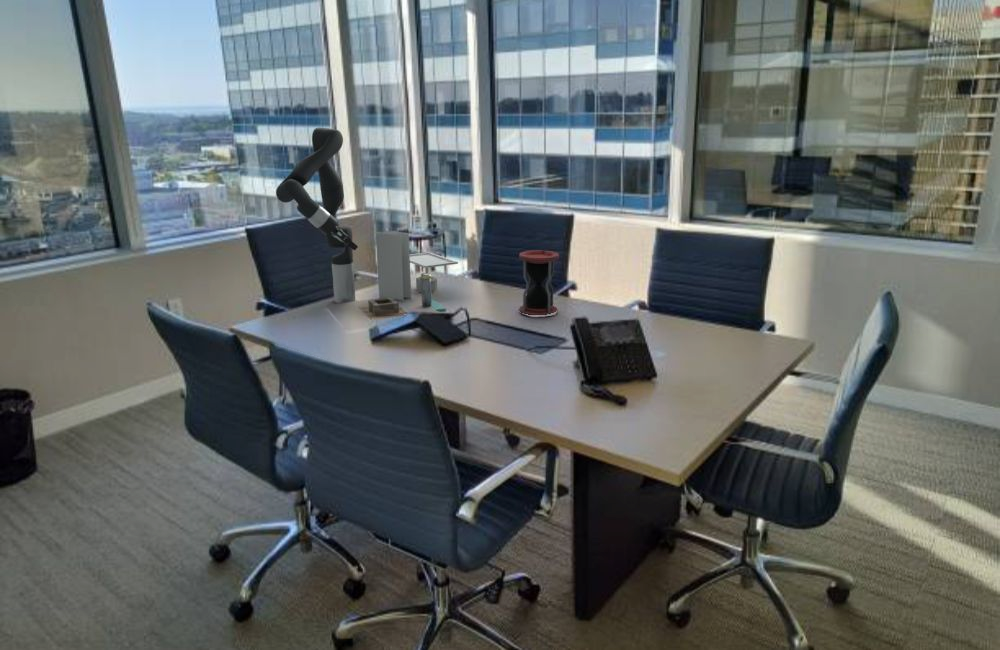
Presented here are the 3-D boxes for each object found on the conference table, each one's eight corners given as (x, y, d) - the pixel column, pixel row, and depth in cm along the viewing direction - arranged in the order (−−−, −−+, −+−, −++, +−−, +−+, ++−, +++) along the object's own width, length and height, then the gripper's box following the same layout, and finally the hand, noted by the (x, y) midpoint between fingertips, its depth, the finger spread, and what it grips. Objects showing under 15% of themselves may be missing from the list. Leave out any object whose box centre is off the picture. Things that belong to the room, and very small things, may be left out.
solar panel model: (458, 293, 318) (457, 261, 314) (425, 298, 309) (424, 266, 305) (430, 281, 340) (429, 251, 336) (398, 286, 331) (397, 255, 326)
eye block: (359, 309, 292) (358, 298, 290) (395, 305, 298) (394, 293, 297) (371, 322, 275) (370, 309, 273) (409, 317, 281) (409, 305, 280)
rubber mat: (408, 305, 298) (408, 303, 297) (434, 302, 303) (434, 300, 302) (419, 314, 286) (418, 311, 285) (446, 310, 291) (445, 308, 290)
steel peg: (420, 305, 295) (419, 273, 291) (429, 304, 296) (428, 272, 292) (423, 307, 291) (422, 275, 287) (433, 306, 293) (432, 274, 289)
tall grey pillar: (411, 300, 307) (408, 233, 298) (403, 303, 302) (400, 235, 293) (387, 295, 314) (384, 230, 305) (379, 298, 310) (375, 232, 301)
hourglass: (565, 313, 286) (567, 254, 279) (534, 320, 277) (535, 259, 270) (541, 305, 299) (542, 248, 291) (511, 311, 290) (511, 252, 283)
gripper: (332, 215, 260) (364, 242, 268) (324, 210, 272) (355, 236, 281) (319, 230, 260) (351, 257, 268) (312, 224, 272) (343, 250, 280)
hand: (353, 246), depth 274 cm, fingers open, 8 cm apart
